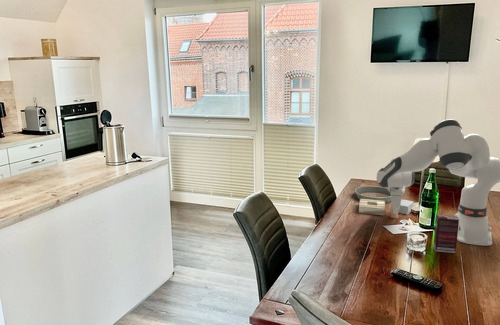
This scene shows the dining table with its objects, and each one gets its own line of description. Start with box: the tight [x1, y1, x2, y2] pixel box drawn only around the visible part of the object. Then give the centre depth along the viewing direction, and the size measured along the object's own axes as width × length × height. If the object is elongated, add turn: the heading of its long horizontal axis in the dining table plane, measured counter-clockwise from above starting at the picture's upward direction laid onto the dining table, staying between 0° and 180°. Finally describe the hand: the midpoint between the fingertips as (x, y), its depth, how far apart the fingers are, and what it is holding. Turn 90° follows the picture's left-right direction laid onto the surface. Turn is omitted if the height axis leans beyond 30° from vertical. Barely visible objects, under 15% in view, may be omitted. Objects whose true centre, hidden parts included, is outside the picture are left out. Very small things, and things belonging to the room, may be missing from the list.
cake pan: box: [354, 185, 392, 204], centre depth 249 cm, size 25×25×4 cm
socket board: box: [358, 199, 386, 216], centre depth 227 cm, size 14×14×4 cm
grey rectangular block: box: [398, 199, 415, 216], centre depth 225 cm, size 11×6×5 cm, turn 143°
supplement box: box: [432, 214, 459, 254], centre depth 174 cm, size 9×5×16 cm, turn 74°
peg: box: [389, 200, 399, 219], centre depth 215 cm, size 4×4×9 cm
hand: (394, 211), depth 216 cm, fingers closed on peg, 4 cm apart
